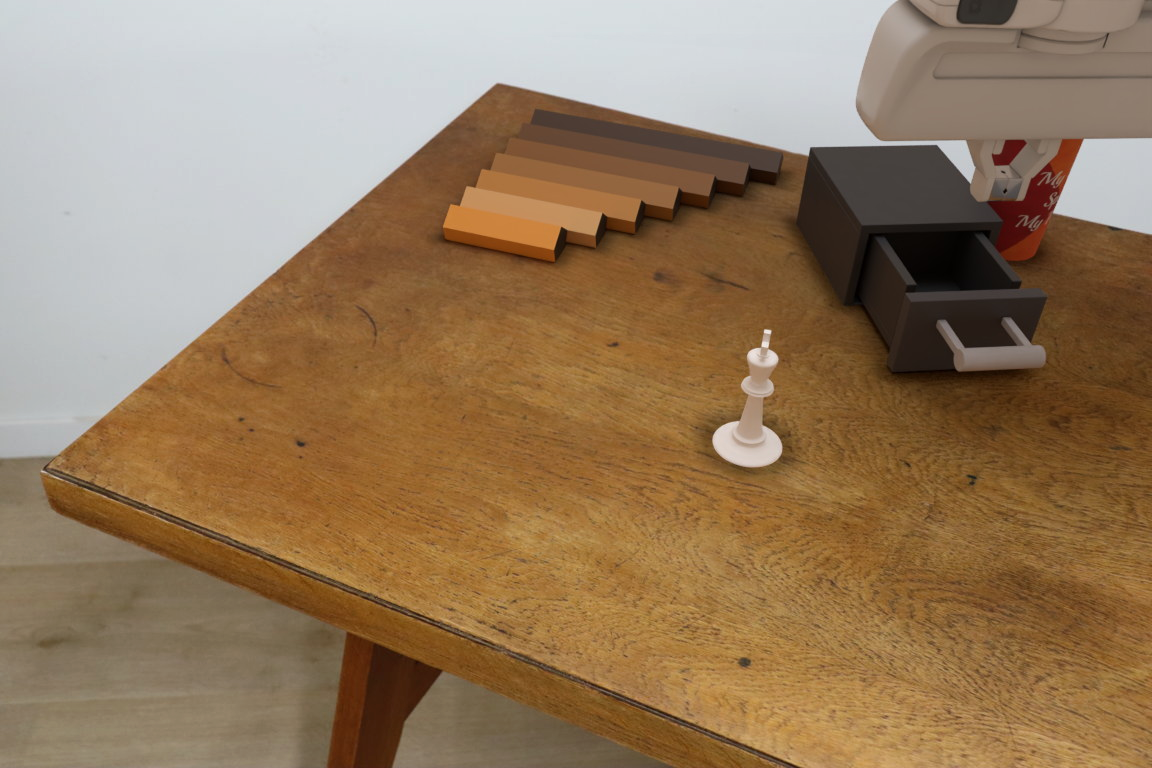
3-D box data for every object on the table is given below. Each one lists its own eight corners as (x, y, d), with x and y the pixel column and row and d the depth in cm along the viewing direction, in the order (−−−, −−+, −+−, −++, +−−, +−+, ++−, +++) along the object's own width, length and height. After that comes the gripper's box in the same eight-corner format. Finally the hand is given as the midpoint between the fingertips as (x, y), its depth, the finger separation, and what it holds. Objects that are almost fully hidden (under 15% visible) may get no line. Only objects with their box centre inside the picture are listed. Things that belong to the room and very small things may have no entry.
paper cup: (1035, 282, 95) (1089, 131, 87) (947, 256, 98) (990, 107, 90) (1053, 244, 101) (1105, 98, 92) (969, 220, 104) (1012, 76, 95)
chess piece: (705, 467, 75) (723, 346, 68) (715, 422, 78) (733, 304, 72) (778, 481, 74) (803, 360, 68) (785, 435, 78) (809, 317, 71)
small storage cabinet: (976, 307, 92) (1003, 221, 87) (841, 312, 90) (861, 225, 85) (915, 225, 102) (937, 144, 97) (794, 228, 101) (810, 146, 96)
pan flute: (780, 176, 109) (540, 132, 114) (785, 144, 107) (541, 102, 112) (727, 308, 90) (443, 248, 96) (733, 272, 88) (442, 213, 93)
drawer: (1055, 410, 80) (1083, 339, 76) (918, 417, 78) (939, 345, 75) (957, 277, 94) (976, 211, 90) (839, 282, 92) (853, 215, 88)
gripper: (1202, -39, 66) (1121, 172, 74) (873, -43, 63) (828, 176, 72) (1267, -4, 61) (1172, 218, 69) (914, -6, 58) (860, 225, 67)
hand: (995, 197), depth 71 cm, fingers closed
